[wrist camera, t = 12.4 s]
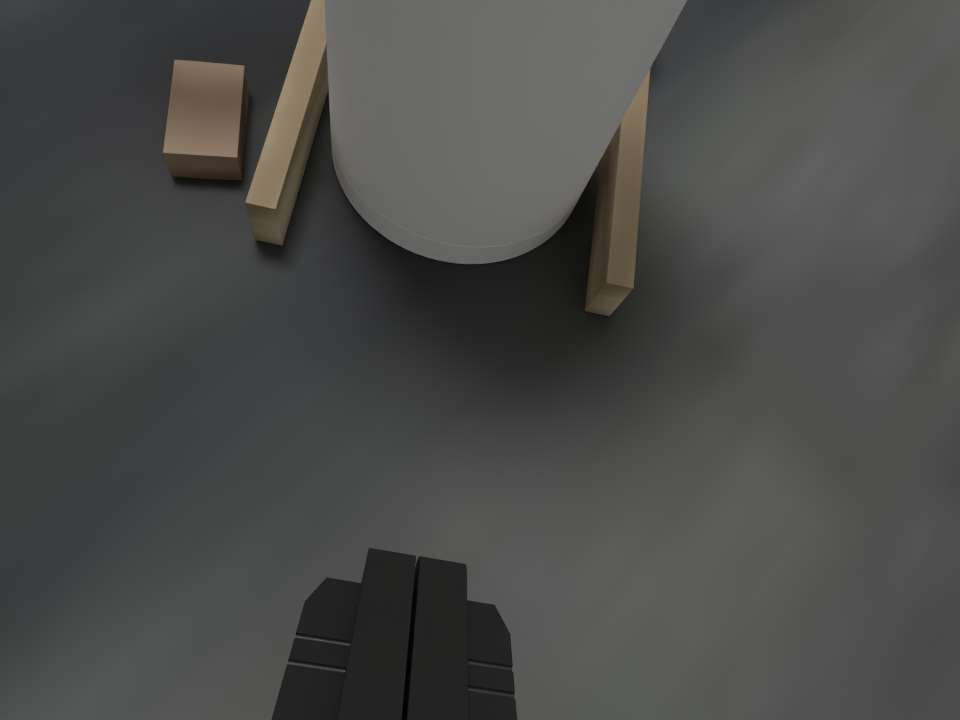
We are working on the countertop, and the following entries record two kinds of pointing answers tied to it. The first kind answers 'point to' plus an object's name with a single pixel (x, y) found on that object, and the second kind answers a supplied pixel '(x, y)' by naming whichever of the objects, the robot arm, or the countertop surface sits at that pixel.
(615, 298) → the cradle
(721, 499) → the countertop surface
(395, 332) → the countertop surface
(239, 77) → the brown block piece
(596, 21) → the cylinder
